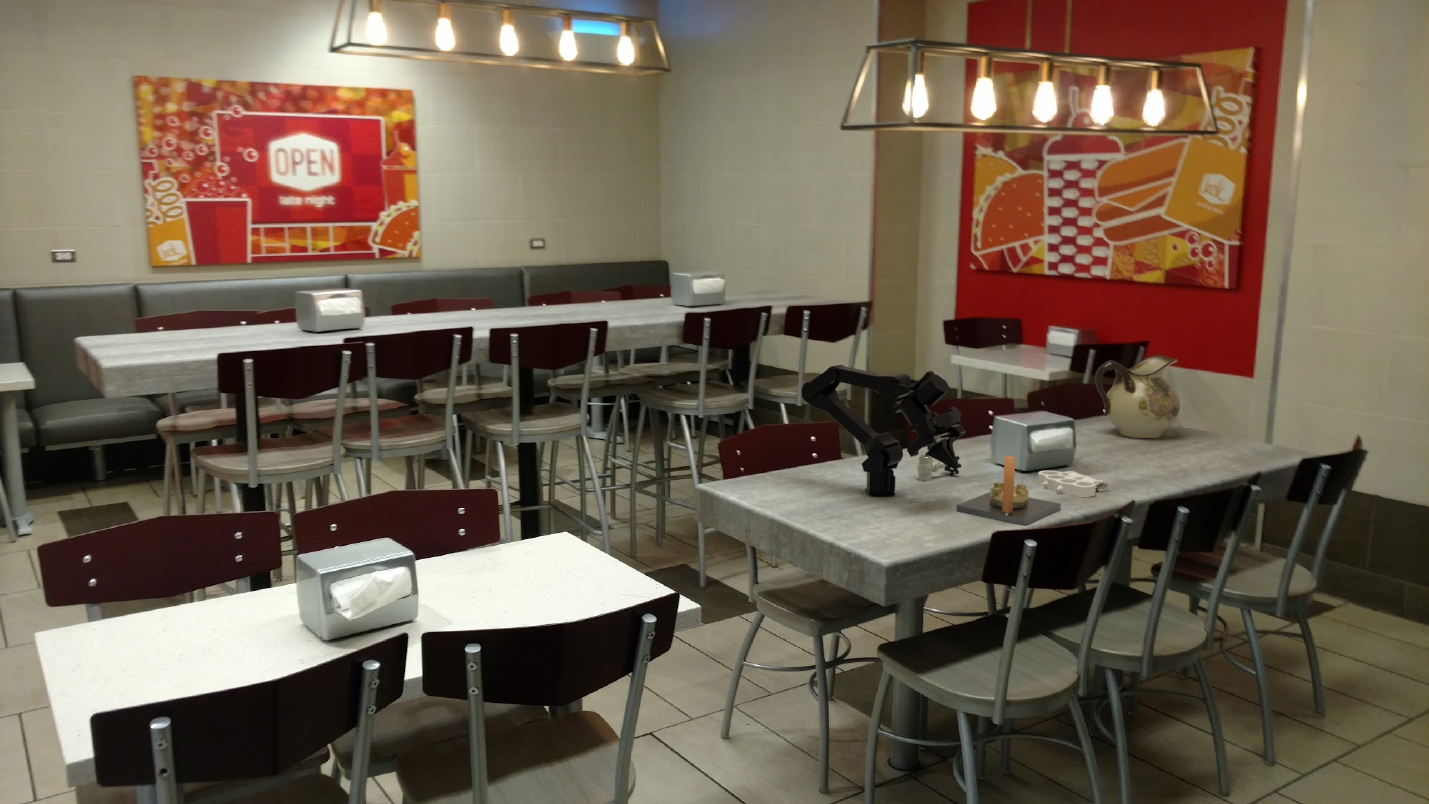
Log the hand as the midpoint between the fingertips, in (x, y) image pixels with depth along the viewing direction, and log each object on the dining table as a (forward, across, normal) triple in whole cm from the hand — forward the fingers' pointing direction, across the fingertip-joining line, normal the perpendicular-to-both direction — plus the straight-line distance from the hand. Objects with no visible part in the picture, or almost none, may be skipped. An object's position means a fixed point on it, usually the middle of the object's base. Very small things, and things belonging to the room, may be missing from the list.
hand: (956, 468), depth 263 cm
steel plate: (+14, +8, 0) cm, 16 cm away
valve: (-6, +24, +22) cm, 33 cm away
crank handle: (+14, +6, -2) cm, 15 cm away
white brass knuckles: (+16, +37, -1) cm, 41 cm away
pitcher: (+7, +114, +8) cm, 114 cm away
